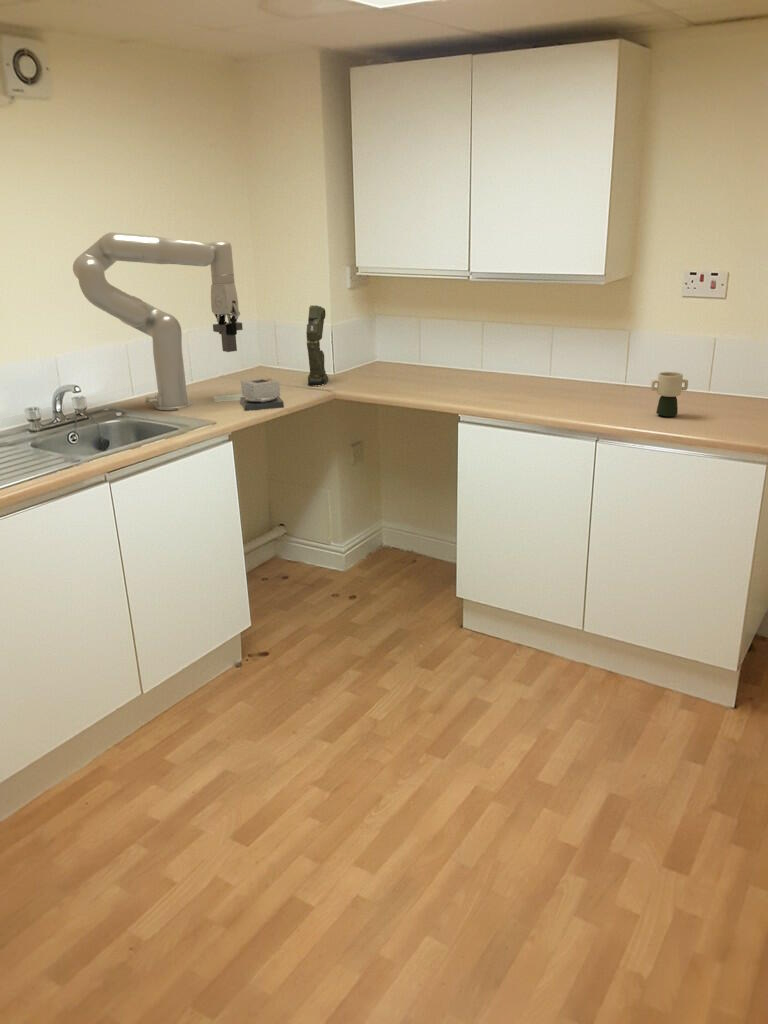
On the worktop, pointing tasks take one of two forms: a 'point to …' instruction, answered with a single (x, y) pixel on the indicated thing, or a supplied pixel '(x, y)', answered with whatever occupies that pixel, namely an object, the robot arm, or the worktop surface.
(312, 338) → the mechanical leg
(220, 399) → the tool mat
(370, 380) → the worktop surface
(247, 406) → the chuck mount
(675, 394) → the character mug
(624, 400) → the worktop surface
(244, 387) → the grey boxy piece
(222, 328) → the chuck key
